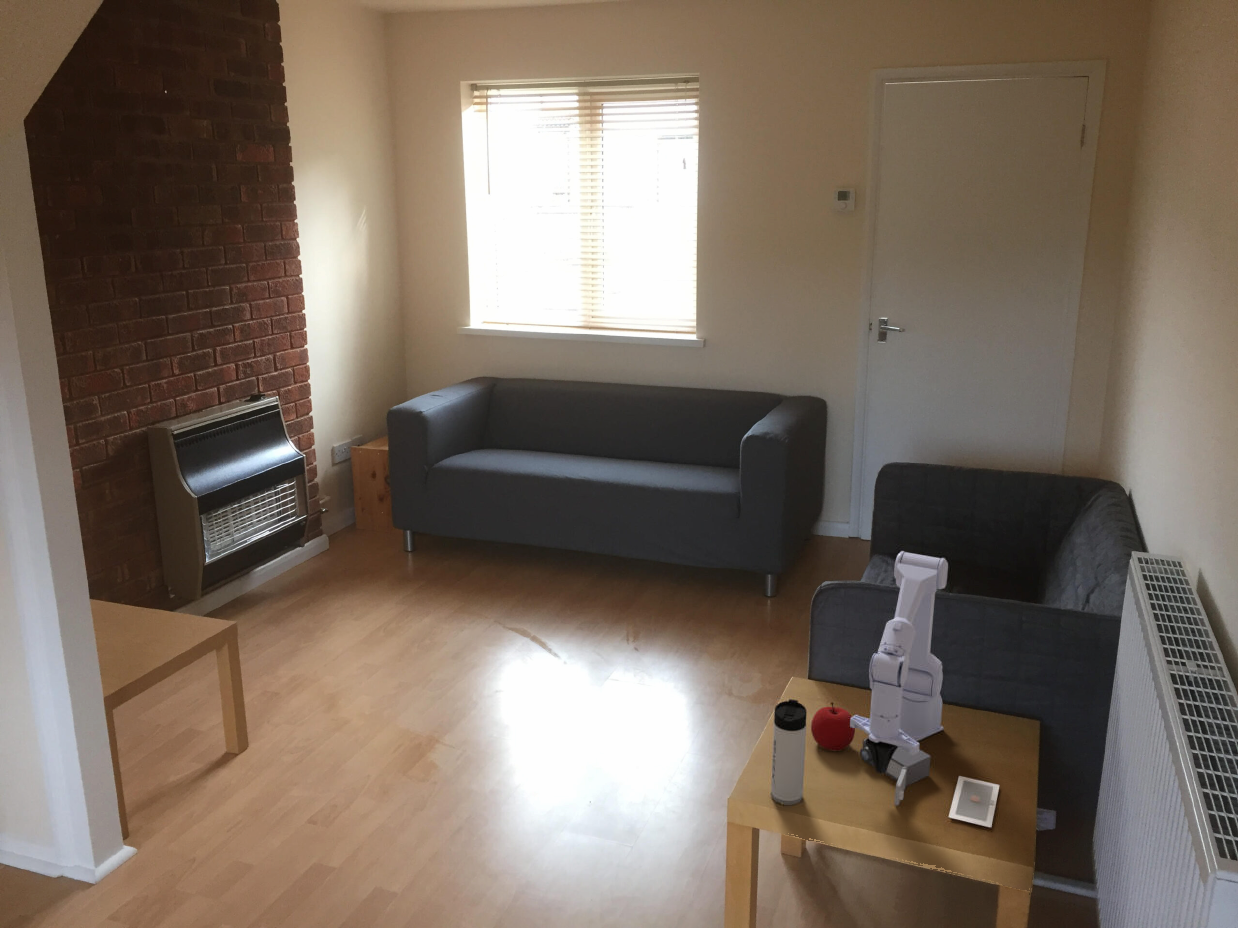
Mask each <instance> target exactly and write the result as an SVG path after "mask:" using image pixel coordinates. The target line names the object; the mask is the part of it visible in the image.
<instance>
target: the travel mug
mask: <svg viewBox="0 0 1238 928" xmlns="http://www.w3.org/2000/svg"><path fill="white" fill-rule="evenodd" d="M807 711H808V710H807V708H806V707H805V706H804V705H803V703H800V702H799V700H797V699H790V698H789V699H788V700H785V701H781V702H779V703H778V704H776V705H775V707H774V713H773V715H774V718H773V730H772V731H773V733H772V754H771V755H772V758H771V759H772V760H771V761H772V762H771V781H770V782H771V783H770V786H771V788H770V797H771V799H772V798H773V799H774V800H775V802H776V801H777V802H779V803H783V804H785V805H784V806H794V805H793V804H795V805H797V803H798V804H799V803H801V801H802V799H803V798H804V797H803V796H804V794H803V793H804V791H803V790H804V775H805V774H804V773H805V759H806V758H805V757H806V756H805V754H806V735H807V713H808V712H807ZM773 799H772V800H773ZM774 800H773V801H774ZM777 802H776V803H777ZM779 803H778V804H779ZM791 804H792V805H791Z"/></svg>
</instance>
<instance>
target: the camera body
mask: <svg viewBox="0 0 1238 928" xmlns="http://www.w3.org/2000/svg"><path fill="white" fill-rule="evenodd" d="M868 738H869V737H867V738H865V739H864V738H863V740H862V748H860V750H859V755H860V758H861V760H862V761H863V762H865V763H867V764H869V765H871V766H872V767H873V768H875V765H874V761H873V758H872V755H871V752H870V750H869V748H868V747H867V745H866V739H868ZM931 758H932V756H931V755H930V754H929V753H926V752H924V751H923V750H921V749H920V748H919V752H918V753H916V754H915V755H911V754H909V751H907V750H905V749H903V748H900V747H898V748H897V749H896V751H895V752H894V754H893V756H892V758H891V760H890V762H889V765H888V768H887V771H886V772H884V773H883V774H885V775H886V776H888V777H889V778H891V779H893V780H894V781H895V782H896V783H897V782H898V779H899V776H900V774H901V771H902V767H904V766H905V767H907V780H906V787H908V786H910V785H912V784H914V783H916V782H918V781H921V780H922V779H925V778H927V777H929V776H930V765H931Z"/></svg>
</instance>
